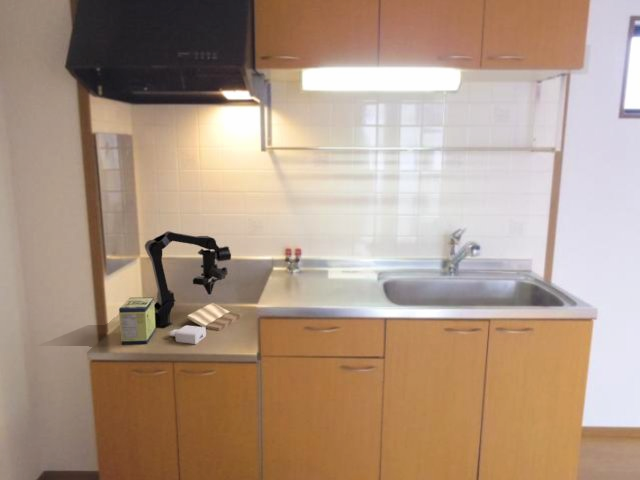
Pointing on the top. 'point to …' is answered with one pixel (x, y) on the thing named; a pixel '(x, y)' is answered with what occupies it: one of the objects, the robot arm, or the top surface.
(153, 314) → the protein box
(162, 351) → the top surface
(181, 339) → the charger
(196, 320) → the oak plank
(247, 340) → the top surface
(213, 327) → the walnut board
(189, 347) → the top surface
